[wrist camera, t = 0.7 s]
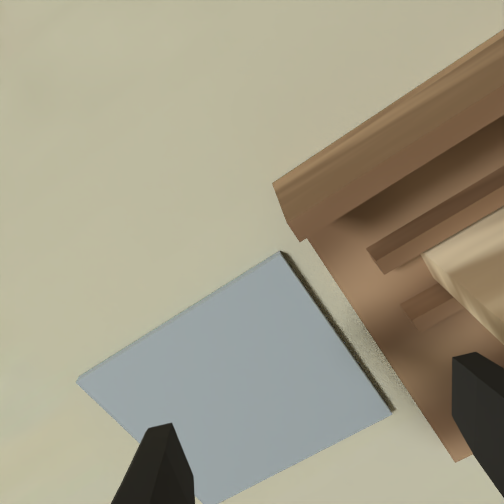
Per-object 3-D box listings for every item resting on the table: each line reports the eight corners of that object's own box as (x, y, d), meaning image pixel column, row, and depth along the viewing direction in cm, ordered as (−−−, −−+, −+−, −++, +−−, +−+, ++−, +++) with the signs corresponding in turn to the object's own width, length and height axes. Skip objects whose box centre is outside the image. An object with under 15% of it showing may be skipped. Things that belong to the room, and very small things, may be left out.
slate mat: (389, 407, 24) (392, 414, 23) (208, 501, 26) (208, 508, 26) (279, 250, 20) (280, 254, 19) (79, 376, 22) (75, 382, 22)
